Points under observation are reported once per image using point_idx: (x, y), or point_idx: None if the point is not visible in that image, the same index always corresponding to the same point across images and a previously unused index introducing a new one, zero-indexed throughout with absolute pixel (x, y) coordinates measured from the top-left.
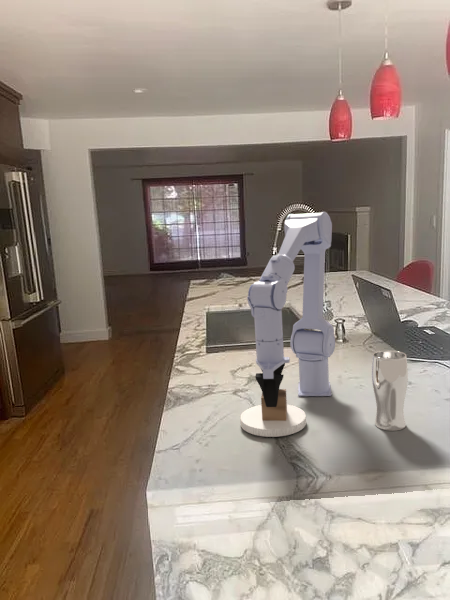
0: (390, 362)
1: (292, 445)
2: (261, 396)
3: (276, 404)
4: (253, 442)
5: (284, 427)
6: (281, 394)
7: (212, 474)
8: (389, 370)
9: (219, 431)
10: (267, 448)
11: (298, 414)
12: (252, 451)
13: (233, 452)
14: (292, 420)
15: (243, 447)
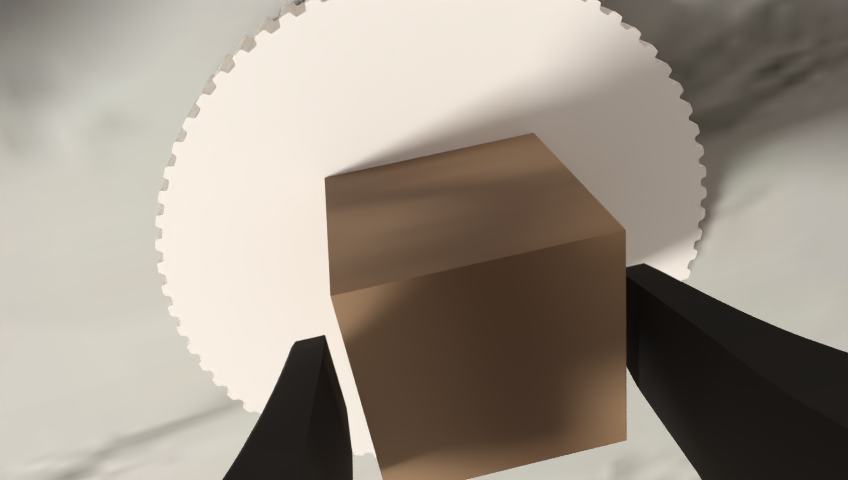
0: None
1: (772, 2)
2: (592, 447)
3: (661, 272)
4: (710, 262)
5: (668, 114)
6: (524, 295)
7: None
8: None
9: (570, 463)
10: (796, 160)
11: (381, 53)
12: (822, 231)
13: (820, 317)
14: (530, 79)
15: (768, 291)
